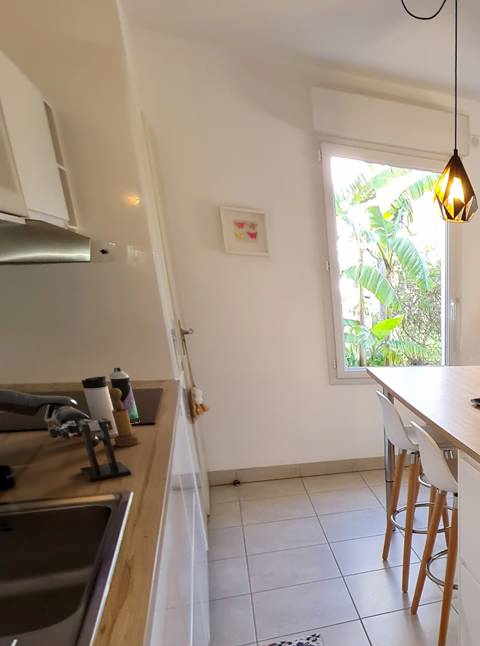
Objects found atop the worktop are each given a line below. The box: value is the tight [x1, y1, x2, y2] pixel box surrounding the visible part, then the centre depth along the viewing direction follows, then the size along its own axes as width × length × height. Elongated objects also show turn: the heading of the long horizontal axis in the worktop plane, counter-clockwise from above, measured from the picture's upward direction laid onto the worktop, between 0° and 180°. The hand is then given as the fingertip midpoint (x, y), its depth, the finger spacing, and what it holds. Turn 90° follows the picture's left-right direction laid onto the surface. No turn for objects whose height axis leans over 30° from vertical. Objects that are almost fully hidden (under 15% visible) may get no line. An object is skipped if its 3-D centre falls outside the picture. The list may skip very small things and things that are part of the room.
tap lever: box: [82, 421, 101, 448], centre depth 151 cm, size 14×4×4 cm
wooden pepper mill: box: [109, 388, 141, 448], centre depth 174 cm, size 7×6×18 cm
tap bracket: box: [79, 419, 132, 483], centre depth 149 cm, size 11×9×15 cm
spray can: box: [109, 367, 139, 425], centre depth 197 cm, size 6×6×20 cm
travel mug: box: [80, 375, 118, 440], centre depth 180 cm, size 6×7×20 cm
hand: (86, 432), depth 156 cm, fingers open, 8 cm apart
